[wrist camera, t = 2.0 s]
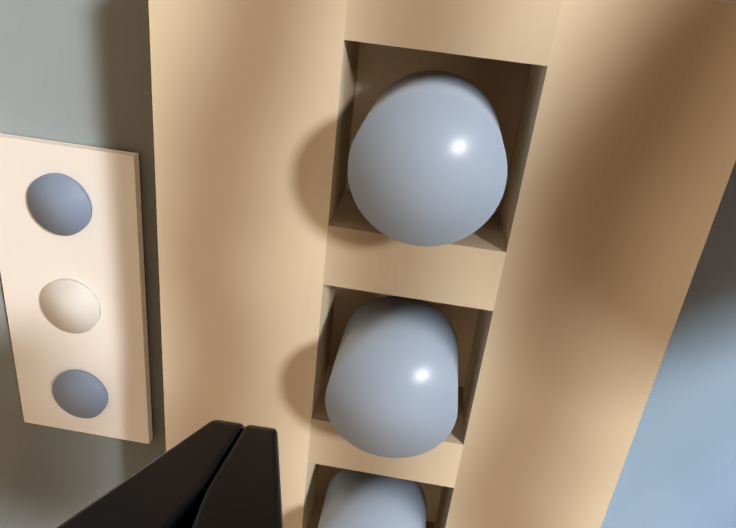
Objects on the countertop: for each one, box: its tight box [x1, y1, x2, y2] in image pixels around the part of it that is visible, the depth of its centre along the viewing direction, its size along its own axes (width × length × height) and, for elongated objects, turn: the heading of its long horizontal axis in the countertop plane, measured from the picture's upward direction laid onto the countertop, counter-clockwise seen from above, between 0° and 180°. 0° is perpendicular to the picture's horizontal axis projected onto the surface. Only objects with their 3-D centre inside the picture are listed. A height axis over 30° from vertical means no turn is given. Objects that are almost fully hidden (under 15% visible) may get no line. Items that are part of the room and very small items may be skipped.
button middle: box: [325, 296, 458, 458], centre depth 16 cm, size 3×3×2 cm
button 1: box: [347, 70, 507, 247], centre depth 13 cm, size 3×3×2 cm
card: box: [0, 133, 153, 444], centre depth 20 cm, size 4×10×1 cm, turn 174°
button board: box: [148, 0, 736, 528], centre depth 17 cm, size 12×18×3 cm, turn 174°
